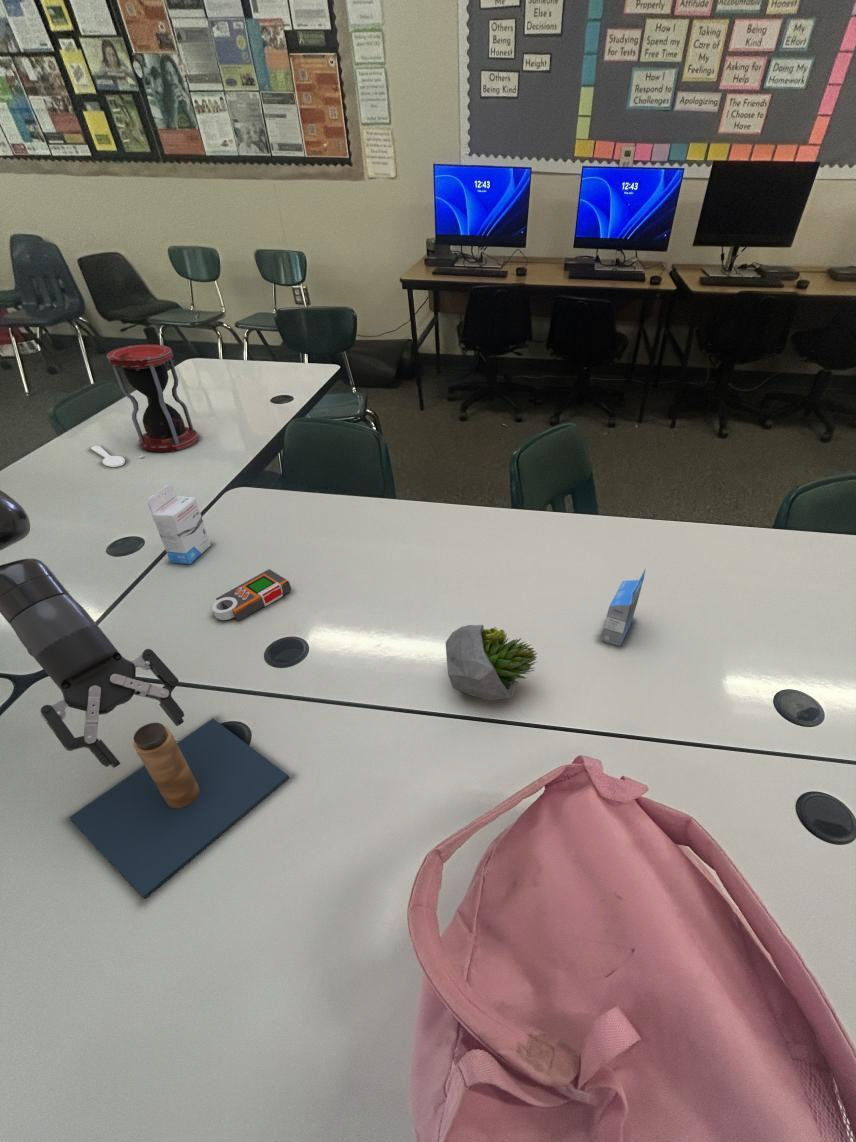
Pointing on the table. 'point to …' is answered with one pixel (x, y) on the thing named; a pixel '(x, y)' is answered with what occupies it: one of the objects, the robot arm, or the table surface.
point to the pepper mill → (166, 764)
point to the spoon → (109, 457)
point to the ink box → (179, 525)
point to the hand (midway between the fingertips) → (150, 744)
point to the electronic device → (251, 596)
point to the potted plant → (486, 662)
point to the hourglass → (153, 397)
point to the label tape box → (622, 611)
